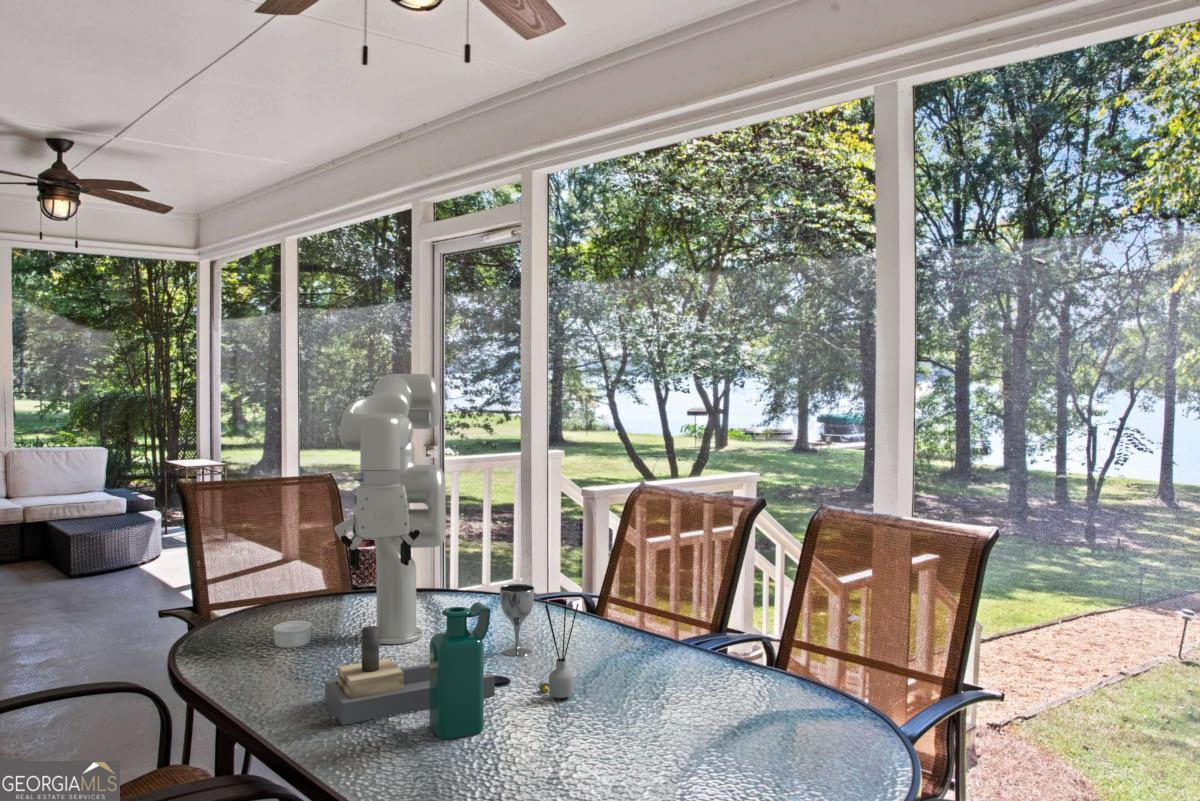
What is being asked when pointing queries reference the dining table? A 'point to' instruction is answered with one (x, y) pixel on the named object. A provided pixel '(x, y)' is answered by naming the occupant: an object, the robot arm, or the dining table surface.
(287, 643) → the ramekin
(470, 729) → the pitcher
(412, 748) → the dining table surface
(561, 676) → the reed diffuser
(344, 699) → the bay
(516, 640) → the wine glass
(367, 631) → the rubber stamp
